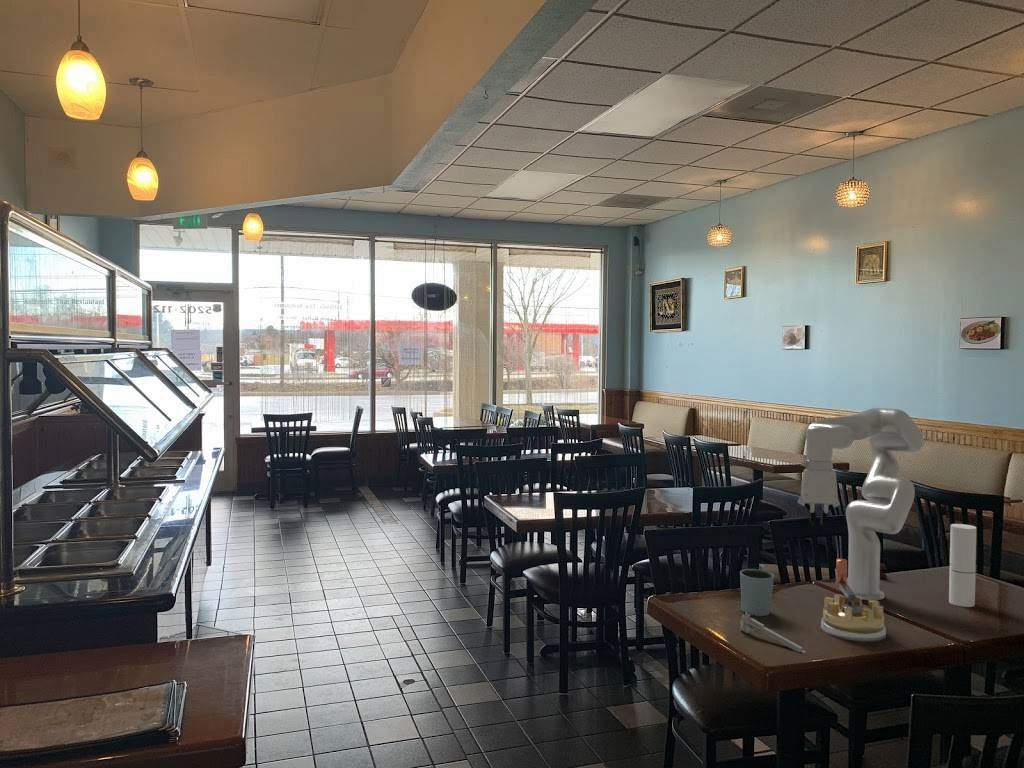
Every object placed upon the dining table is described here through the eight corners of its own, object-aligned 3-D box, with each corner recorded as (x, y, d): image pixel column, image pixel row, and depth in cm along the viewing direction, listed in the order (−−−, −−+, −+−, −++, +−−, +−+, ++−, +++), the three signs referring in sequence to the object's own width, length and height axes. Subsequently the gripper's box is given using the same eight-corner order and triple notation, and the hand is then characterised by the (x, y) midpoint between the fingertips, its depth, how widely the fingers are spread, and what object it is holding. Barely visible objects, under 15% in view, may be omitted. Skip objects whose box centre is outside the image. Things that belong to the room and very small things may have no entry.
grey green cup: (745, 604, 240) (746, 567, 239) (777, 610, 234) (778, 572, 233) (734, 612, 231) (735, 574, 231) (768, 619, 225) (768, 580, 225)
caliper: (740, 632, 215) (740, 610, 215) (742, 631, 216) (742, 610, 216) (804, 655, 199) (804, 631, 199) (806, 654, 199) (807, 630, 199)
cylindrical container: (967, 600, 245) (969, 524, 244) (979, 607, 238) (980, 529, 237) (944, 599, 245) (946, 523, 245) (955, 606, 238) (957, 528, 238)
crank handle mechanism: (797, 615, 222) (798, 567, 222) (839, 603, 234) (840, 558, 233) (862, 636, 205) (863, 585, 205) (904, 622, 216) (905, 574, 216)
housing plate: (808, 627, 219) (808, 620, 219) (843, 617, 228) (843, 610, 228) (863, 646, 204) (863, 638, 204) (898, 634, 214) (898, 627, 214)
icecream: (842, 554, 278) (878, 567, 265) (856, 547, 281) (892, 560, 268) (844, 571, 280) (880, 585, 267) (857, 563, 283) (893, 577, 270)
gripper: (794, 466, 230) (793, 526, 230) (849, 468, 227) (848, 528, 227) (790, 463, 237) (789, 521, 238) (843, 465, 234) (842, 523, 234)
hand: (818, 524), depth 232 cm, fingers closed
